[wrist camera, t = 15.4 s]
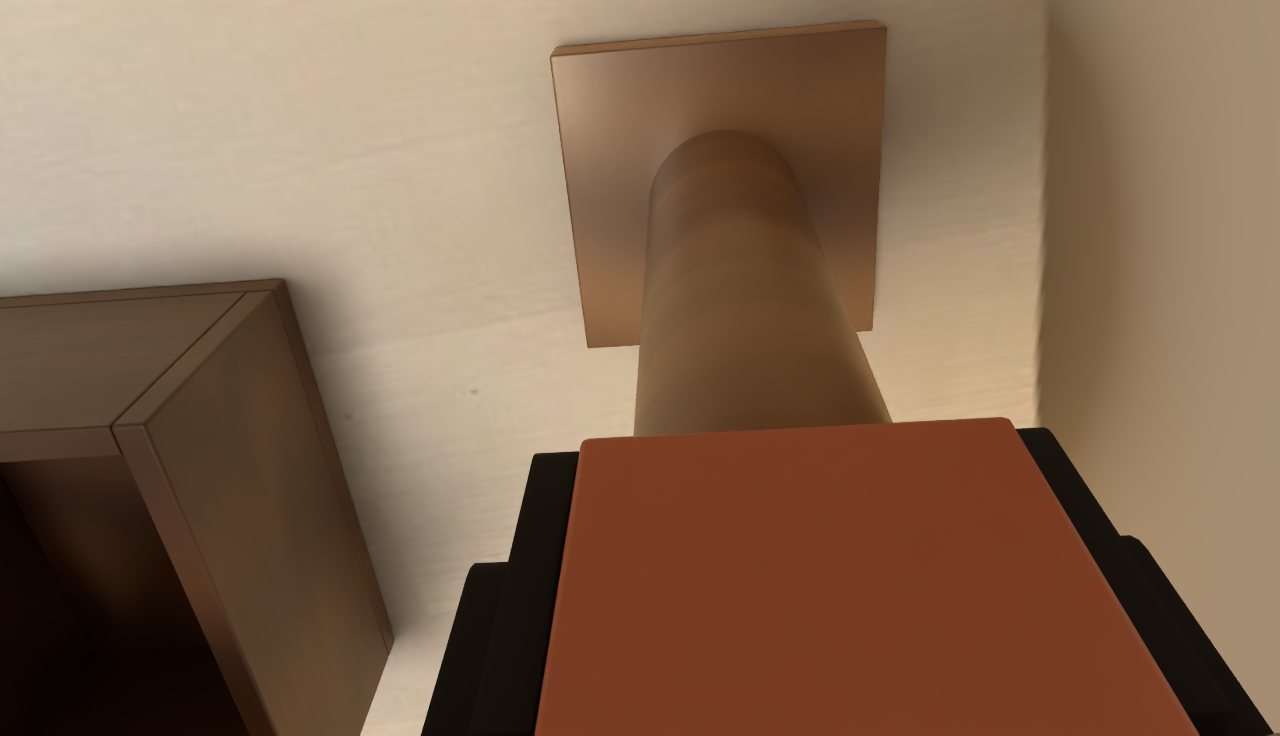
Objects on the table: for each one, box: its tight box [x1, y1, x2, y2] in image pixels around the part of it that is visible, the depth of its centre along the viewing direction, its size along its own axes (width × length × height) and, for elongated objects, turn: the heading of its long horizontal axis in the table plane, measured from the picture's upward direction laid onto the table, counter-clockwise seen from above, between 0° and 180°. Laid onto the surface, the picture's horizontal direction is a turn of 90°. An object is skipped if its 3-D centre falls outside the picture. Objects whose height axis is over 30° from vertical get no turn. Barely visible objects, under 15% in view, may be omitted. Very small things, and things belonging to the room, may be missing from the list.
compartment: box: [0, 279, 395, 736], centre depth 26 cm, size 15×12×8 cm
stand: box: [550, 20, 893, 436], centre depth 17 cm, size 8×8×15 cm
